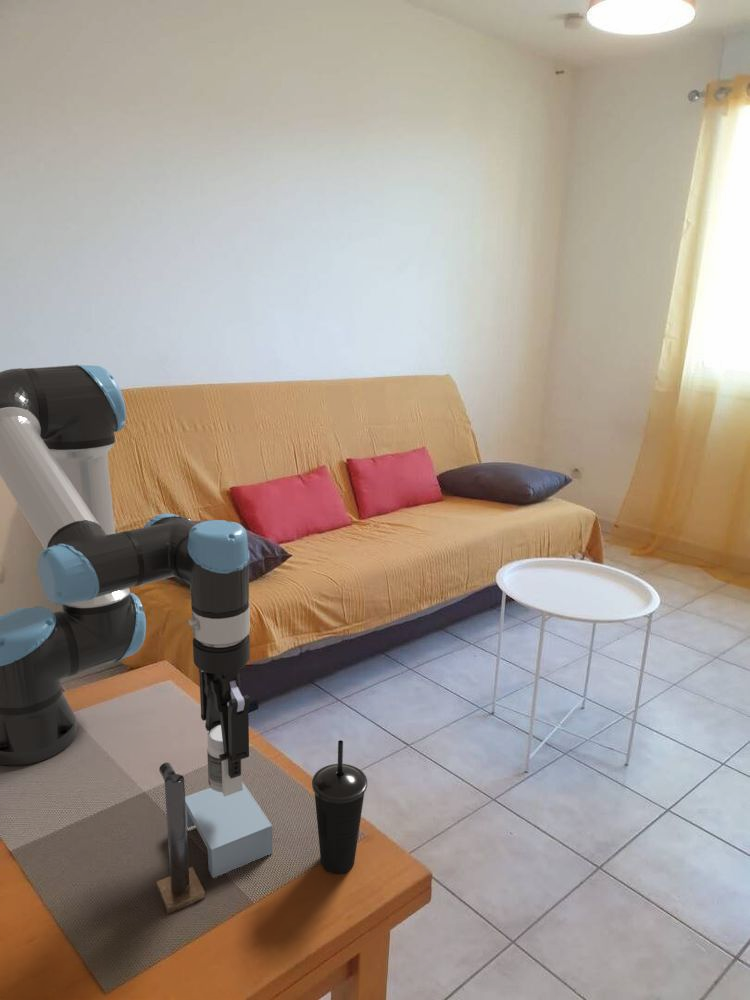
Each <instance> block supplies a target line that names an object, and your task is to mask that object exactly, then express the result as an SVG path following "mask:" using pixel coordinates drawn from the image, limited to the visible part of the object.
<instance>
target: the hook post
mask: <svg viewBox="0 0 750 1000" xmlns="http://www.w3.org/2000/svg"><path fill="white" fill-rule="evenodd" d="M174 769H175V768H173V766H172V764H171V763H170V762H164V763H162V764H161V765H160V766H159V773H160V775H161V777H162V778H163V781H164V789H165V790H164V793H165V795H164V796H165V807H166V809H165V810H166V826H167V828H166V829H167V839H168V840H167V842H168V859H169V874H170V875H168V876H167V877H163V878H161V879H159V880H157V881H155V882H156V883H155V884H156V889H157V888H158V889H157V891H158V890H159V891H158V894H159V893H160V894H159V896H160V895H161V896H160V898H161V897H162V898H161V901H162V900H163V901H162V903H163V902H164V903H163V905H165V906H164V907H165V910H166V913H167V914H169V915H170V914H171V913H173V911H174V912H175V910H176V911H179V910H180V909H179V908H181V907H182V906H183V908H185V907H186V906H185V905H187V904H189V903H191V902H194V901H196V900H198V899H201V898H203V897H205V898H206V893H205V889H204V888H203V885H202V883H201V881H200V879H199V877H198V875H197V874H196V871H195V869H194V867H193V866H190V867H189V865H190V864H189V848H188V847H189V845H188V830H187V825H186V806H185V796H186V790H185V788H186V787H185V778H184V777H185V776H183V775H182V774H180V773H179V774H178V773H176V771H175V770H174ZM201 900H202V899H201ZM184 906H185V907H184ZM181 909H182V908H181Z"/></svg>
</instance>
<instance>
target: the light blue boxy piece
mask: <svg viewBox="0 0 750 1000" xmlns="http://www.w3.org/2000/svg"><path fill="white" fill-rule="evenodd" d="M242 787H243V790H242V791H239V792H236V793H233V794H231V795H228V796H225V797H224V795H223V794H222V792H217V791H215V790H213V789H211V788H210V787H208V788H206V789H203V790H200V791H197V792H194V793H191V794H189V795H185V806H186V825H187V827H188V828H189V827H191V826H194V825H195V826H196V830H197V832H198V834H199V836H200V837H201V839H202V841H203V843H204V845H205V847H206V848H207V862H208V865H207V866H208V872H209V871H210V873H211V875H210V876H212V877H213V878H214V877H215V876H218V875H221V876H223V875H222V874H224V873H225V872H228V871H231V870H233V869H235V870H237V869H236V868H238V867H240V866H241V867H240V868H242V866H243V865H245V864H247V865H249V864H248V863H250V862H252V861H254V862H256V861H255V860H257V859H259V860H261V859H260V858H262V857H264V856H266V857H268V856H267V855H269V856H271V855H273V824H272V823H271V821H270V820H269V818H268V817H267V816H266V814H265V813H264V811H263V809H262V808H261V806H260V805H259V804H258V802H257V801H256V799H255V798H254V796H253V795H252V793H251V792H250V790H249V788H248V787H247V786H246V785H245V783H244V782H243V780H242ZM270 854H271V855H270ZM264 858H265V857H264ZM262 859H263V858H262ZM257 861H258V860H257ZM252 863H253V862H252ZM250 864H251V863H250ZM245 866H246V865H245ZM243 867H244V866H243ZM238 869H239V868H238ZM233 871H234V870H233ZM231 872H232V871H231ZM210 873H209V874H210ZM228 873H229V872H228ZM224 875H225V874H224ZM212 877H211V878H212ZM214 879H215V878H214Z"/></svg>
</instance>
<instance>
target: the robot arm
mask: <svg viewBox="0 0 750 1000" xmlns="http://www.w3.org/2000/svg"><path fill="white" fill-rule="evenodd" d="M126 409H127V408H126V404H125V399H124V396H123V393H122V391H121V387H120V386H119V384H118V382H117V381H116V379H115V378H114V376H113V375H112V373H111V372H110V371H108V370H107V369H106V368H104V367H102V366H99V365H85V364H84V365H83V364H74V365H72V364H70V365H59V366H44V367H32V368H29V367H28V368H22V367H21V368H10V369H5V370H2V371H0V477H1V479H2V480H3V482H4V484H5V485H6V487H7V489H8V491H9V492H10V494H11V496H12V498H13V499H14V501H15V502H16V504H17V506H18V507H19V509H20V511H21V512H22V514H23V516H24V517H25V519H26V521H27V522H28V524H29V526H30V527H31V529H32V531H33V532H34V535H36V537H37V539H38V541H39V542H40V544H41V547H42V548H43V549H42V550H41V551H40V553H39V555H38V559H37V574H38V578H39V581H40V583H41V585H42V589H43V590H42V591H43V592H44V594H45V596H46V598H47V599H48V601H50V602H51V603H53V604H55V605H58V606H62V610H59V611H56V612H53V611H54V610H52V609H50V608H48V607H46V606H41V605H39V606H33V607H31V606H25V607H21V608H17V609H13V610H10V611H9V612H6V613H4V614H2V615H0V765H1V766H2V765H3V766H11V767H12V766H15V767H17V766H23V765H24V766H25V765H30V764H35V763H39V762H42V761H44V760H48V759H50V758H51V757H54V756H55V755H57V754H60V753H61V752H63V751H64V750H65V749H67V748H68V747H69V746H70V745H71V744H72V743H73V742H74V741H75V738H76V736H77V733H78V721H77V717H76V715H75V712H74V711H73V709H72V707H71V705H70V704H69V701H68V700H67V698H66V696H65V694H64V692H63V681H62V680H64V679H67V678H70V677H72V676H75V675H76V676H77V675H79V674H81V673H86V672H88V671H91V670H93V669H97V668H100V667H103V666H106V665H109V664H113V663H118V662H120V661H121V660H123V659H125V658H129V657H131V656H133V655H135V654H136V653H138V651H139V650H140V649H141V648H142V646H143V644H144V642H145V638H146V632H147V621H146V614H145V611H143V608H144V607H143V604H142V602H141V600H140V598H139V597H138V596H137V595H136V594H135V593H133V592H131V590H130V589H131V588H135V587H140V586H144V585H147V584H150V583H155V582H157V581H162V580H165V579H169V578H172V577H175V578H178V579H180V580H182V582H184V583H186V584H189V586H190V588H189V589H190V600H191V601H190V603H191V605H190V606H191V617H192V618H189V620H188V625H189V626H191V627H192V635H193V638H192V651H193V652H192V655H193V657H192V659H193V662H194V666H195V667H196V668H197V669H198V673H199V674H198V675H199V693H200V695H199V697H200V698H199V699H200V700H199V701H200V717H201V720H202V721H203V722H204V721H205V723H204V724H205V726H204V727H205V729H206V731H207V732H208V733H206V735H207V745H208V744H209V743H210V742H209V733H210V731H211V730H212V729H213V728H214V727H216V726H218V725H221V731H222V739H223V748H224V753H223V754H221V755H219V758H220V760H221V762H222V794H223V795H224V797H225V796H228V795H231V794H233V793H236V792H239V791H242V790H243V787H242V781H243V760H244V759H246V758H249V757H250V732H249V730H250V729H249V727H250V726H249V725H250V724H249V723H250V722H249V709H250V704H251V698H250V695H248V694H245V695H242V691H241V687H242V685H243V683H242V677H241V674H240V673H239V672H240V671H241V670H242V669H244V667H245V666H246V665H247V664H248V662H249V661H250V659H251V658H250V657H251V647H250V646H251V644H250V643H251V641H250V640H251V639H250V631H251V619H250V618H251V617H250V616H251V615H250V611H251V609H250V601H249V600H250V557H251V556H250V551H249V546H248V545H249V544H248V533H247V530H246V529H245V527H244V526H243V525H242V524H240V523H239V522H235V521H228V520H224V519H213V520H211V519H210V520H205V521H201V522H199V523H196V522H194V521H193V520H191V519H189V518H187V517H186V516H184V517H182V516H181V515H177V514H175V513H170V512H169V513H160V514H157V515H155V516H154V517H153V518H151V519H150V520H149V521H147V522H146V523H145V524H144V526H143V527H141V528H136V529H135V528H134V529H130V530H125V531H120V532H116V529H115V528H116V527H115V517H114V510H113V509H114V507H113V506H114V505H113V499H112V496H113V495H112V489H111V488H112V487H111V480H110V479H111V478H110V469H109V459H108V458H109V457H108V453H109V451H110V450H111V449H112V448H113V447H114V446H115V445H116V437H115V433H118V432H120V431H121V430H123V429H124V427H125V426H126V419H127V410H126Z"/></svg>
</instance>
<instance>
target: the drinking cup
mask: <svg viewBox="0 0 750 1000" xmlns="http://www.w3.org/2000/svg"><path fill="white" fill-rule="evenodd" d="M343 757H344V741H343V740H338V741H337V763H333V764H328V765H326V766H323V767H322V768H320V769H319V770H317V772H315V773H314V775H313V777H312V779H311V786H312V787H311V788H312V790H313V792H314V800H315V801H314V802H315V810H316V822H317V834H318V843H319V844H318V845H319V854H320V855H319V856H320V864H321V867H322V868H323V869H324V870H325V871H326V872H328V873H330V874H334V875H340V874H343V875H344V874H345V873H348V872H349V871H350V870H351V869H352V868H354V865H355V861H356V860H355V859H356V853H357V846H358V841H359V832H360V827H361V819H362V818H361V817H362V811H363V803H364V797H365V792H366V791H367V788H368V778H367V776H366V774H365V773H364V771H362V770H361V769H359V768H358V767H356V766H354V765H350V764H346V763H343V761H344V759H343Z"/></svg>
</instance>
